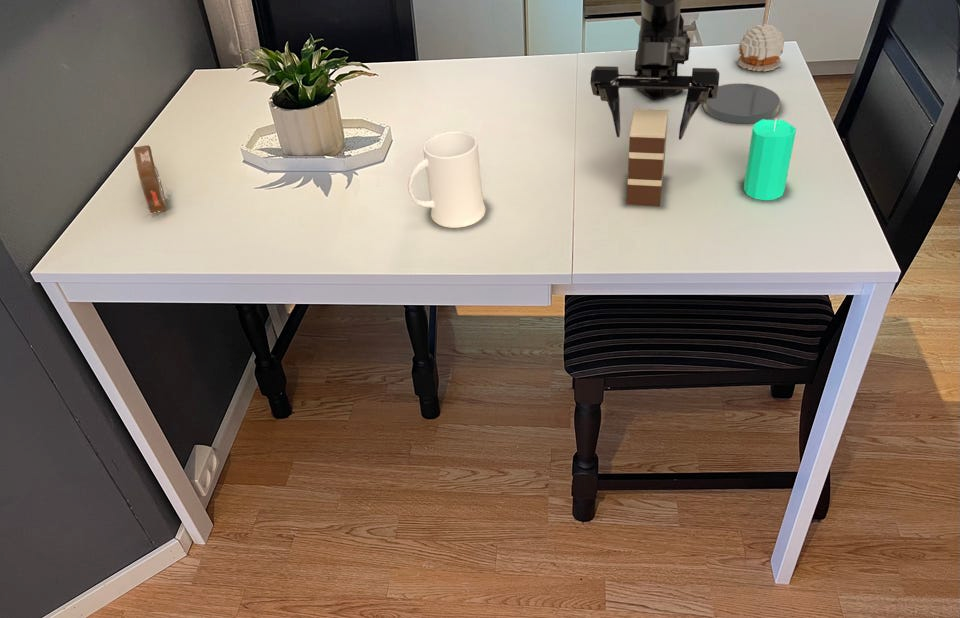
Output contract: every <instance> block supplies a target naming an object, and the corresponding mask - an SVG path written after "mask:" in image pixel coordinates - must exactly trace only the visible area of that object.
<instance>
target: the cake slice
mask: <svg viewBox="0 0 960 618" xmlns="http://www.w3.org/2000/svg"><path fill="white" fill-rule="evenodd" d="M668 120H669V109H657V108H656V109H653V108H652V109H650V108H634V111H633V115H632V120H631V127H630V131H629V140H628V141H629V142H628V163H627V164H628V165H627V187H626V189H627V190H626V205H630V206H631V205H632V206H649V207H650V206H651V207H660V206H661V201H662V200H661V199H662V193H663V185H664V175H665V163H666V149H667V148H666V146H667V134H668Z"/></svg>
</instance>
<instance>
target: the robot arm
mask: <svg viewBox="0 0 960 618" xmlns="http://www.w3.org/2000/svg"><path fill="white" fill-rule="evenodd" d="M681 1H682V0H640V13H641V16H640V28H639V32H638V43H637V44H638V45H637V50H636V53H635V61H634V71H635V74H620V71H619V70H620V69H619V66H611V65H609V66H605V65H595V66H594V67H593V69H592V70H591V72H590V82H589V84H590V87H591V91H592V95H593V96H596V97H599V98H600V99H599V100H600V101H601V102H607V105H608V107H609V111H610V113H611V114H612V121H613V125H614V131H615V133H616V138H620V137H621V98H620V89H637V90H639V91H640V92H642V94H644V95H646V96H647V98H649V99H651V100H653V101H656V100H659V99H664V98H667V97H671V96H674V95H675V96H676V95H679V94H682V93H683V92H684V90H687V94H686V98H685V104H684V107H683V113H682V117H681V120H680V125H679V131H678V140H680V141H681V140H683V138H684V134H685V133H686V130H687V129H688V127H689V124H690V121H691V119H692V118H693V116H694V114H695V113H696V111H697V110H698V108H699V106H701V105H704V104H706V103H707V99H714V98H716V96H717V91H718V86H720V85H719V83H720V71H719V70H718V68H716V67H715V68H711V67H709V68H708V67H692V70H691V71H692V72H691V75H678V74H679V73H678V69H679V64H680V65H685V62H687V61H689V57H690V49H691V48H690V46H691V37H689V33H688V30H687V29H684V24H685V20H684V18H683V16H682V14H681Z"/></svg>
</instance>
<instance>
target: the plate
mask: <svg viewBox="0 0 960 618" xmlns="http://www.w3.org/2000/svg"><path fill="white" fill-rule="evenodd" d="M780 102H781V99H780V97H779V95H778V94H777V93H776V92H775V91H773V90H772V89H770V88H768V87H765V86H762V85H758V84H753V83H727V84H721V85H718V91H717V96H716V98H714V99H707V103H706V104H702V105H703V106H702V107H703V110H704V111H705V113H707V115H709V116H710V117H712V118H714V119H716V120H719V121H722V122H726V123H731V124H755V123H757V122H758V121H760V120H762V119H765V120H771V119H772V118H774V117H775V116H776V115H777V113H778V112H779V109H780Z"/></svg>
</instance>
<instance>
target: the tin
mask: <svg viewBox="0 0 960 618" xmlns="http://www.w3.org/2000/svg"><path fill="white" fill-rule="evenodd" d="M133 153H134V159H135V165H136V169H137V172H138V173H137V174H138V178H139V182H140V186H141V189H142V191H143V195H144V198H145V201H146V205H147V207H148V211H149V213H150V214H151V213H153V214H158V213H161V212H166V210H167V209H168V207H167V203H166V196H165V194H164V188H163V185H162V182H161V180H160V182H159V178H158V177H160V175H159V171H158V168H157V167H156V164H155V162H154V158H153V154H152V149H151V146H150V145H149V144H148V145H146V144H145V145H141V146H133ZM161 189H162V190H161ZM163 199H164V200H163ZM166 208H167V209H166ZM165 209H166V210H165ZM162 210H164V211H162ZM158 211H160V212H158ZM154 212H156V213H154Z"/></svg>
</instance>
